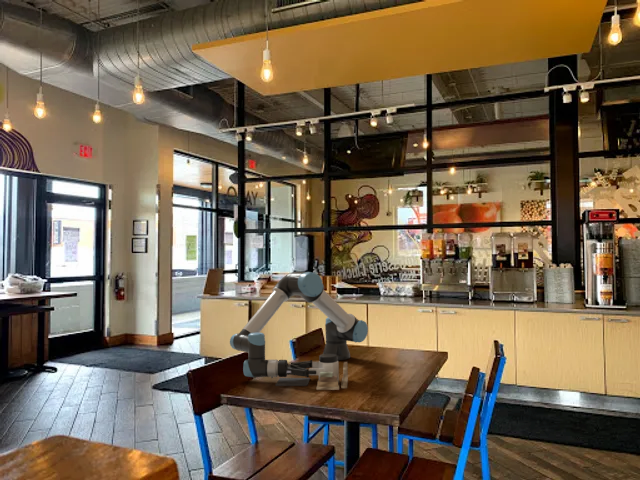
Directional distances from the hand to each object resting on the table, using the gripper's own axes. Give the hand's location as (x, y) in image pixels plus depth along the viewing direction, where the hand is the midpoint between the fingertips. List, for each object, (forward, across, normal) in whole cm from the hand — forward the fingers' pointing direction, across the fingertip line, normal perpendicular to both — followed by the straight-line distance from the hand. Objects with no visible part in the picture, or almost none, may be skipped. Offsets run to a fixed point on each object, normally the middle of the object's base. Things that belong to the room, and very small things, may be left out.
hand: (325, 368), depth 212 cm
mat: (-15, 0, -6) cm, 16 cm away
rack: (+3, +3, -6) cm, 8 cm away
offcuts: (+2, +10, -5) cm, 11 cm away
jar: (+1, 0, -7) cm, 7 cm away
